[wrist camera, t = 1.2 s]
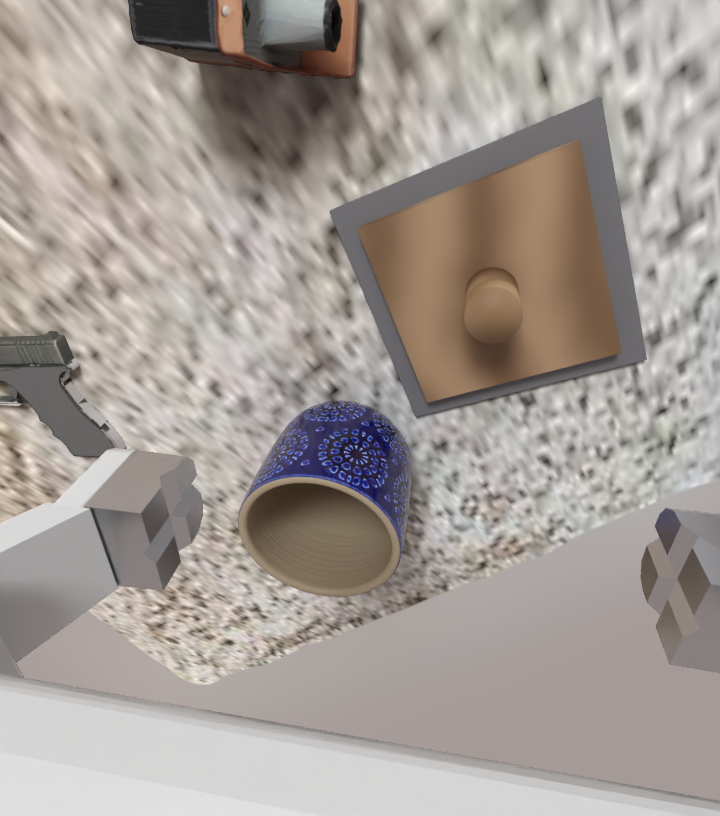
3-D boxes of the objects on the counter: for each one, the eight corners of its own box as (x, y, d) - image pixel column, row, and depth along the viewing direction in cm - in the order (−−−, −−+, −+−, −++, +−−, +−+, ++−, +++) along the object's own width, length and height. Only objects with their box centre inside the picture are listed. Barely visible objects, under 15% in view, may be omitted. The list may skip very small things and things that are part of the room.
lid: (577, 139, 29) (593, 151, 24) (618, 346, 34) (637, 384, 30) (360, 225, 33) (343, 248, 29) (428, 395, 39) (422, 434, 35)
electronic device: (359, 80, 29) (325, 82, 23) (196, 65, 31) (123, 63, 24) (365, -22, 27) (329, -50, 21) (188, -33, 28) (104, -64, 22)
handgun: (-34, 443, 53) (-102, 333, 46) (131, 447, 49) (82, 328, 43) (-48, 453, 51) (-119, 341, 45) (121, 458, 47) (69, 336, 41)
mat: (599, 97, 28) (601, 97, 27) (645, 356, 35) (646, 359, 34) (330, 210, 33) (329, 211, 33) (416, 413, 40) (416, 416, 40)
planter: (268, 454, 45) (215, 552, 36) (318, 358, 39) (270, 446, 30) (379, 510, 47) (355, 619, 37) (444, 425, 41) (435, 530, 31)
